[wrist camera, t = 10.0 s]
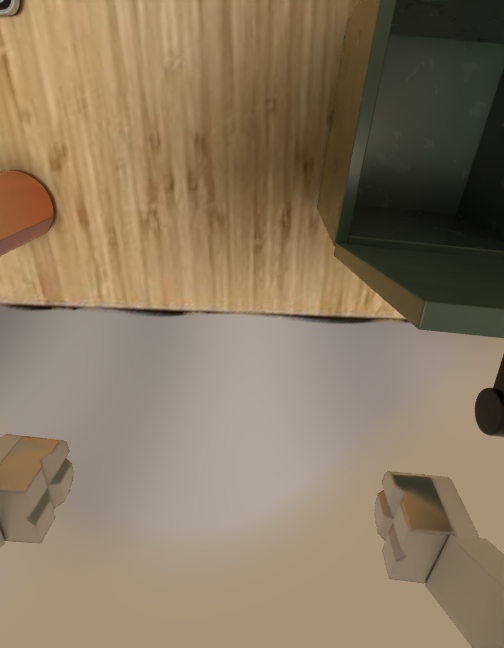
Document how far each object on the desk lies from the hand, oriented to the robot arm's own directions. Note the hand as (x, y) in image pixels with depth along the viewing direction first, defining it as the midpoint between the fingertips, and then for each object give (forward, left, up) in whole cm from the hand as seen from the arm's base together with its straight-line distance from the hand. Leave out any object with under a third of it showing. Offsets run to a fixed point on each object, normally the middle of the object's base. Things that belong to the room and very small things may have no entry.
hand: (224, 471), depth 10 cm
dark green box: (-8, +11, -29) cm, 32 cm away
